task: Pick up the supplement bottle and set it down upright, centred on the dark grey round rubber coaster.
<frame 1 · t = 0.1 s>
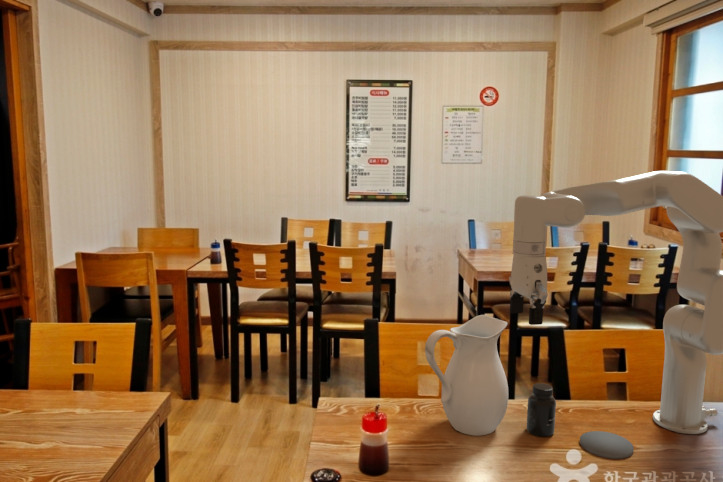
hand: (525, 318, 140), 31 cm above the table, tool pointing down, fingers open, 9 cm apart
pitcher: (462, 429, 150), on the table
supplement bottle: (540, 431, 149), on the table
coaster: (606, 445, 141), on the table
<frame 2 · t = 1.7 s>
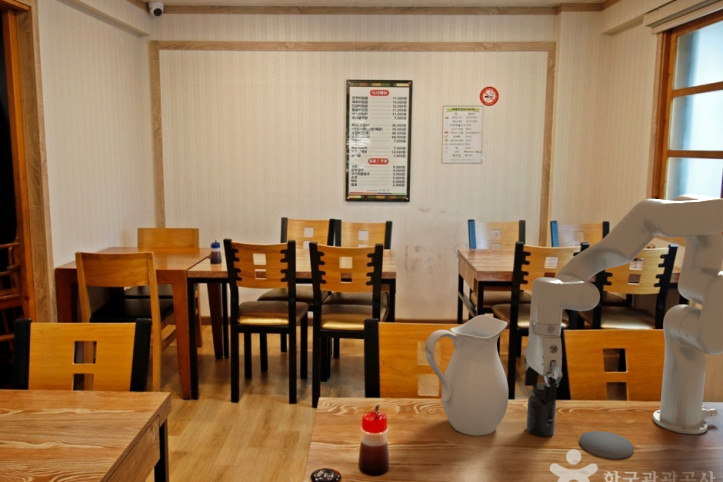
hand: (539, 392, 147), 10 cm above the table, tool pointing down, fingers open, 9 cm apart
nothing on the table moved.
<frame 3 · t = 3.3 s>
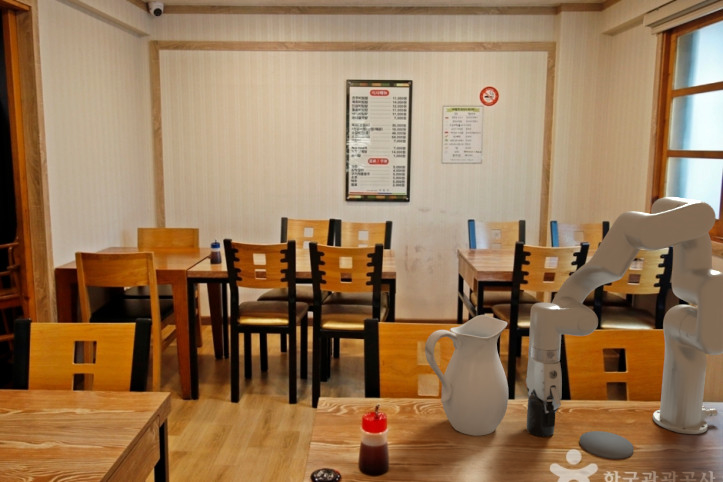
hand: (540, 419, 148), 3 cm above the table, tool pointing down, fingers closed on supplement bottle, 6 cm apart
supplement bottle: (540, 431, 149), on the table, touching gripper
everything else where it was.
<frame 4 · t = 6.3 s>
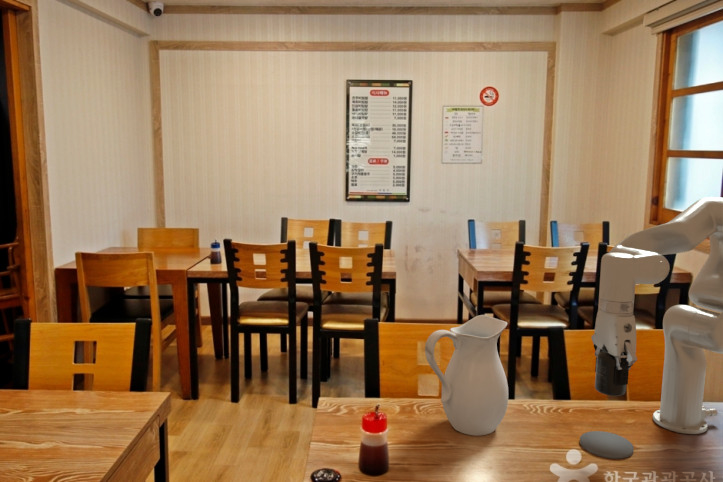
hand: (611, 378, 139), 17 cm above the table, tool pointing down, fingers closed on supplement bottle, 6 cm apart
supplement bottle: (609, 391, 139), point 14 cm above the table, touching gripper
everything else where it was.
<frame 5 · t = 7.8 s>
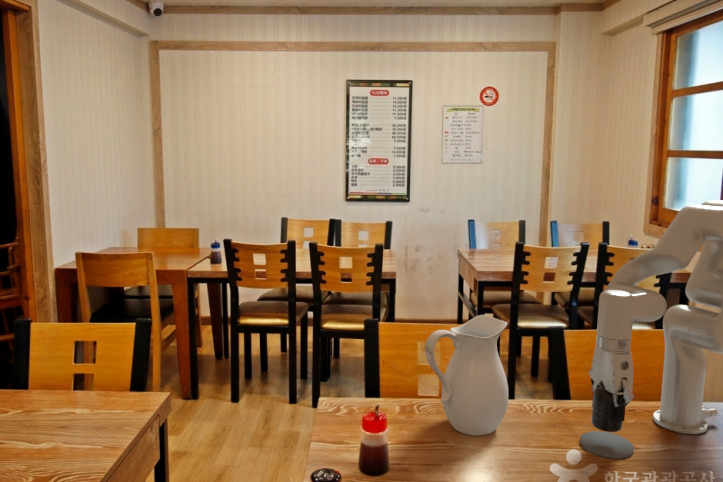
hand: (607, 413, 140), 8 cm above the table, tool pointing down, fingers closed on supplement bottle, 6 cm apart
supplement bottle: (606, 427, 140), point 5 cm above the table, touching gripper
everything else where it was.
when the fingers open (5 cm above the table, at t = 9.4 s): supplement bottle drops 1 cm, resting on coaster.
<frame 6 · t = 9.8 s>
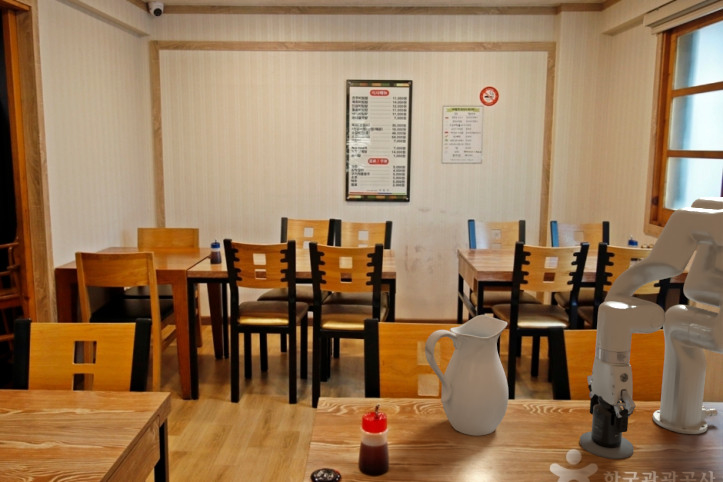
hand: (607, 422, 140), 6 cm above the table, tool pointing down, fingers open, 9 cm apart
supplement bottle: (606, 442, 141), point 1 cm above the table, touching coaster
everything else where it was.
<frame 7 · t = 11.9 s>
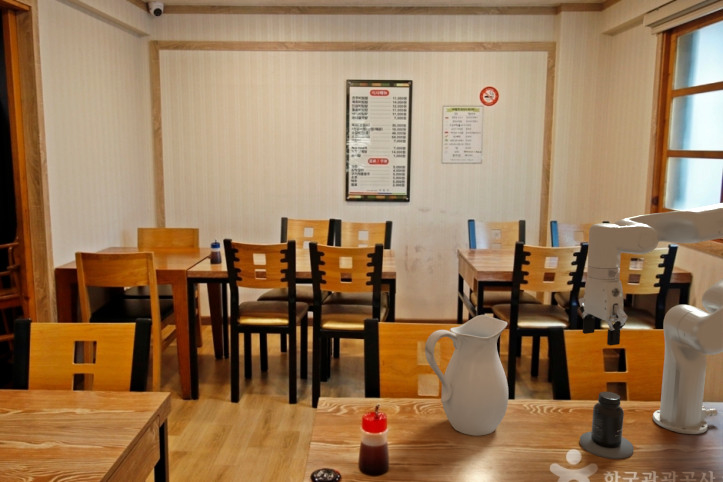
hand: (600, 338, 148), 23 cm above the table, tool pointing down, fingers open, 9 cm apart
nothing on the table moved.
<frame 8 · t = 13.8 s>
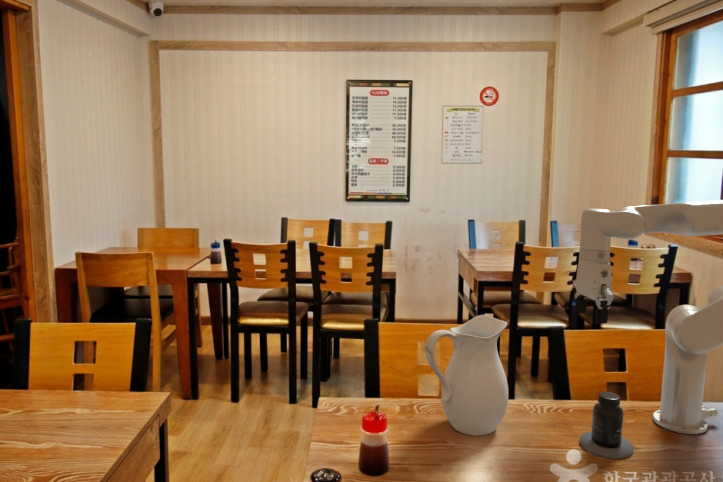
hand: (590, 317, 157), 26 cm above the table, tool pointing down, fingers open, 9 cm apart
nothing on the table moved.
at the end: supplement bottle 0.3 cm from the coaster (horizontally); supplement bottle tilted 0°; supplement bottle touching coaster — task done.
